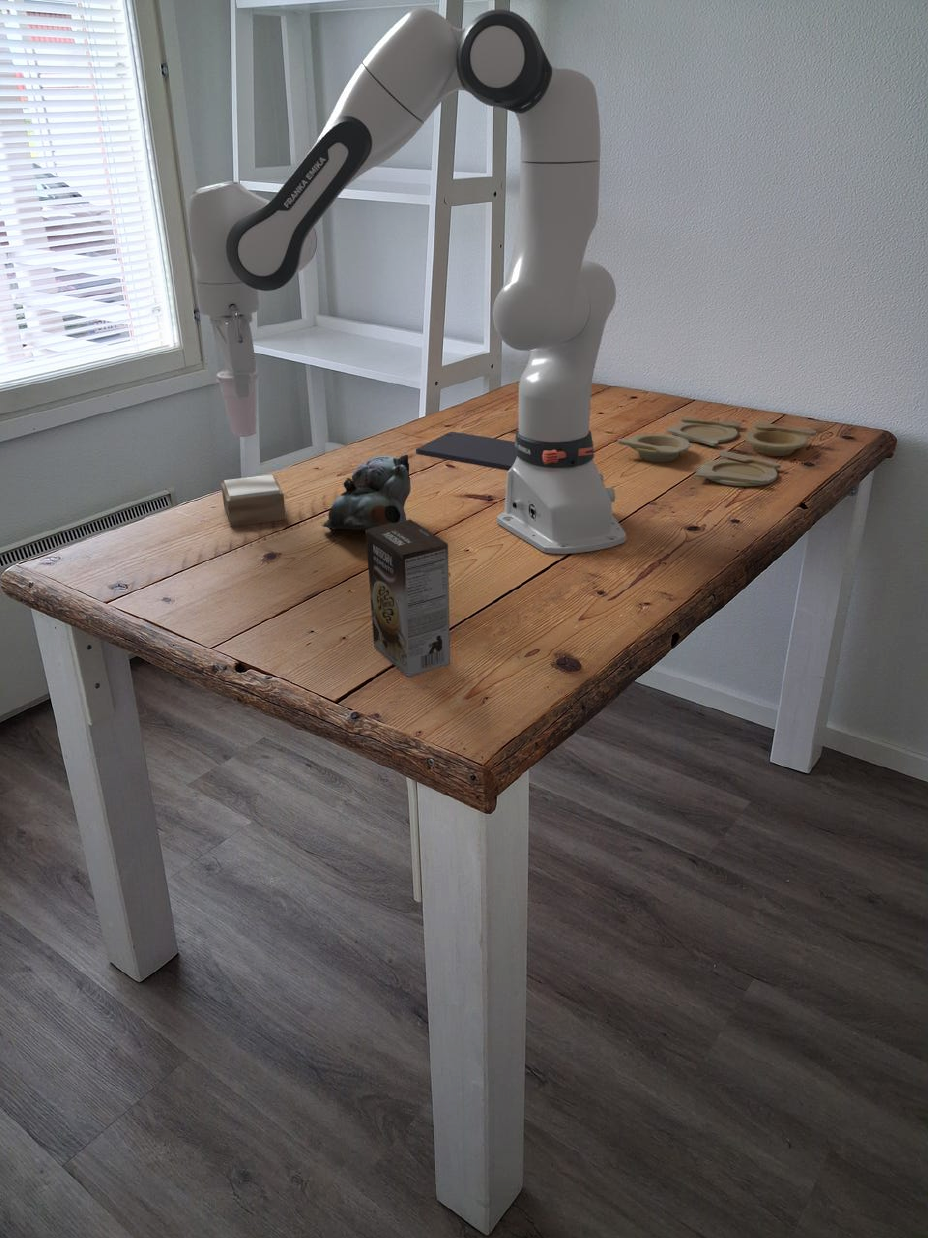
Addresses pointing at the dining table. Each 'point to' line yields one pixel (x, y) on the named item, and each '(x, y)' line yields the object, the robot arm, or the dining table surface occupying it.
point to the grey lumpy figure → (372, 495)
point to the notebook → (472, 450)
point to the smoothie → (239, 404)
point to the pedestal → (253, 500)
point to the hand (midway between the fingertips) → (240, 390)
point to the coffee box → (409, 596)
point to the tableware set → (723, 470)
